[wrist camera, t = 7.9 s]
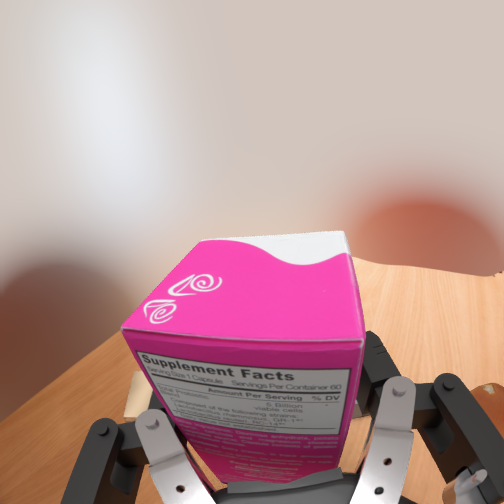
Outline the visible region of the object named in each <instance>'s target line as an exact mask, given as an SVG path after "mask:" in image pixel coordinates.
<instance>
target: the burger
mask: <svg viewBox="0 0 504 504" xmlns="http://www.w3.org/2000/svg"><path fill="white" fill-rule="evenodd" d="M470 392H471V394H472V395H473V396H474V398H475V399H476V400H477V402H478V403H479V404H480V406H481V407H482V408H483V410H484V411H485V413H486V414H487V415H488V417H489V418H490V420H491V421H492V423H493V424H494V425H495V427H496V428H497V430H498V431H499V433H500V434H501V436H502V437H503V439H504V387H503V386H501V385H499V384H496V383H489V384H485V385H481V386H478V387H477V388H475V389H473V390H471V391H470Z"/></svg>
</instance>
